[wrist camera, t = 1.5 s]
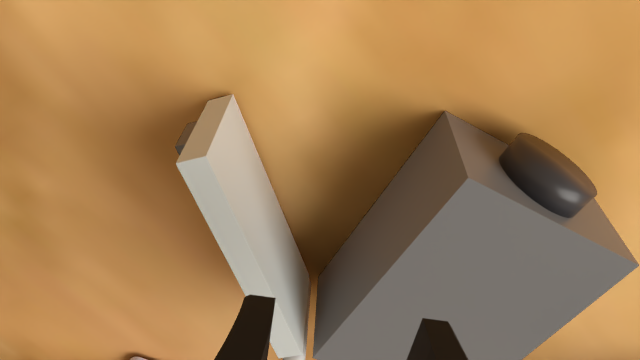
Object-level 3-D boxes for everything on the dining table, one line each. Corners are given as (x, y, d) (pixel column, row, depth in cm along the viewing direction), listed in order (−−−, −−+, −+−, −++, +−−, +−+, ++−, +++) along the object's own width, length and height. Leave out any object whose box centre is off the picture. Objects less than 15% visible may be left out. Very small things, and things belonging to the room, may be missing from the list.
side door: (314, 288, 24) (308, 367, 21) (284, 293, 25) (274, 373, 21) (232, 94, 19) (205, 156, 15) (195, 103, 19) (160, 167, 16)
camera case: (440, 328, 26) (456, 412, 22) (318, 277, 24) (312, 357, 21) (605, 170, 20) (663, 245, 17) (461, 89, 19) (489, 152, 15)
